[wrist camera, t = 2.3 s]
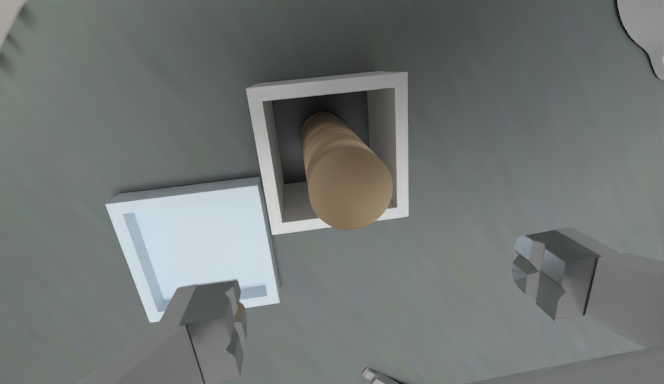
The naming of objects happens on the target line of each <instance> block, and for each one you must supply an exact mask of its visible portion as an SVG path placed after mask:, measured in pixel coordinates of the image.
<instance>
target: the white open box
mask: <svg viewBox="0 0 664 384" xmlns="http://www.w3.org/2000/svg"><path fill="white" fill-rule="evenodd" d="M366 90H367V105H368V125H369V146H370V149H371V150H372V151H373V152H374V153H375V154H376V155H377V157H378V158H379V159H380V160H381V161H382V162H383V163H384V164H385V165H386V166H387V168H388V170H389V171H390V174H391V177H392V181H393V193H392V198H391V201H390V203H389V205H388V207H387V209H386V210H385V212H384V213H383V214H382V215H381V216H380V217H379V218H378V219H377V220H376V221H379V220H386V219H393V218H401V217H408V72H380V71H374V72H364V73H354V74H344V75H334V76H324V77H314V78H304V79H294V80H284V81H274V82H265V83H258V84H255V85H253V86H251V87H248V88H246V92H247V98H248V103H249V109H250V115H251V120H252V126H253V131H254V137H255V142H256V148H257V154H258V159H259V165H260V170H261V176H262V181H263V187H264V193H265V198H266V204H267V209H268V215H269V220H270V226H271V232H272V235H276V234H283V233H291V232H298V231H305V230H313V229H320V228H327V227H332V226H330V225H328V224H326V223H324V222H323V221H322V220H321V219H320V218H319V217H318V216H317V215H316V213H315V212H314V210H313V208H312V206H311V203H310V199H309V193H308V185H307V181H305V182H297V183H289V184H284V178H283V172H282V165H281V159H280V152H279V146H278V139H277V133H276V126H275V120H274V113H273V107H272V100H280V99H289V98H299V97H308V96H318V95H327V94H337V93H347V92H356V91H366Z"/></svg>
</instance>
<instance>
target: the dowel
mask: <svg viewBox="0 0 664 384" xmlns="http://www.w3.org/2000/svg"><path fill="white" fill-rule="evenodd" d="M301 143H302V150H303V157H304V164H305V171H306V178H307V185H308V193H309V199H310V203H311V206H312V208H313V210H314V212H315V213H316V215H317V216H318V217H319V218H320V219H321V220H322V221H323V222H324V223H326V224H328V225H330V226H332V227H334V228H338V229H343V230H353V229H359V228H362V227H365V226H367V225H370V224H371V223H373V222H374V221H376V220H377V219H378V218H379V217H380V216H381V215H382V214H383V213H384V212H385V210H386V209H387V207H388V205H389V203H390V201H391V198H392V193H393V181H392V177H391V174H390V171H389V170H388V168H387V166H386V165H385V164H384V163H383V162H382V161H381V160H380V159H379V158H378V157H377V155H376V154H375V153H374V152H373V151H372V150H371V149H370V148H369V147H368V146H367V145H366V144H365V143H364V142H363V141H362V140H361V139H360V138H359V137H358V136H357V135H356V134H355V133H354V132H353V131H352V130H351V129H350V128H349V127H348V126H347V125H346V124H345V123H344V122H343V121H342V120H341V119H340V118H339V117H337V116H336V115H334V114H332V113H329V112H318V113H315V114H313V115H311V116H310V117H309V118H308V119H307V120H306V121H305V122H304V124H303V126H302V129H301Z"/></svg>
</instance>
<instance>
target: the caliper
mask: <svg viewBox="0 0 664 384" xmlns="http://www.w3.org/2000/svg"><path fill="white" fill-rule="evenodd" d="M362 375H363V376H364V377H365V378H367V379H369V380H371V384H400V383H398V382H396V381H394V380H393V379H391V378H389V377H388V376H386V375H384V374H381V373H379V372H376V371H375V372H374V371H372V370H370V369H369V368H366V369H365V370H364V371H363V373H362Z"/></svg>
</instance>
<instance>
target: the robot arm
mask: <svg viewBox="0 0 664 384" xmlns="http://www.w3.org/2000/svg"><path fill="white" fill-rule="evenodd" d="M617 4H618V10H619V14H620V17H621V20H622V23H623V25H624V27H625V29H626V31H627V32H628V34H629V35H630V37H631V38H632V39H633V40H634V41H635V42H636V43H637V44H638V45H639V46H641V47H642V48H643V49H644V50H645V51H646V52H647V53H648V55H649V56H650V59H651V63H652V66H653V69H654V71H655V74H656V75H657V77H658V78H659V79H661V80H664V0H617ZM515 251H516V252H517V254H518V256H517V258H516V259H515V260H514V262H513V267H512V274H513V277H514V280H515V283H516V284H517V286H518V287H519V288H520V289H521V290H522V291H523V292H524V293H525V294H527V295H529V296H532V297H534V298H536V304H537V305H538V306H539V307H540V308H541V309H542V310H543V311H544V312H546V313H547V314H548V315H549V316H550V317H551V318H552V319H553V320H554V321H556V320H563V319H570V318H576V317H583V316H585V318H586V319H588V320H590V321H592V322H594V323H596V324H598V325H601V326H603V327H605V328H607V329H609V330H611V331H613V332H615V333H617V334H619V335H621V336H623V337H625V338H627V339H629V340H631V341H633V342H635V343H637V344H639V345H641V346H644V347H646V348H648V349H643V350H637V351H632V352H627V353H622V354H616V355H611V356H606V357H601V358H595V359H590V360H585V361H580V362H574V363H569V364H564V365H559V366H553V367H548V368H543V369H538V370H532V371H527V372H522V373H517V374H512V375H507V376H502V377H496V378H491V379H486V380H481V381H476V382H471V383H466V384H664V262H663V261H658V260H654V259H650V258H646V257H641V256H637V255H633V254H628V253H624V254H621V253H619V252H617V251H615V250H613V249H611V248H609V247H608V246H606V245H604V244H602V243H600V242H598V241H596V240H594V239H592V238H591V237H589V236H587V235H585V234H583V233H581V232H579V231H577V230H575V229H573V228H562V229H557V230H552V231H547V232H542V233H536V234H530V235H525V236H519V237H518V238H517V240H516V242H515ZM240 295H241V290H240V286H239V282H238V281H237V279H232V280H224V281H216V282H209V283H201V284H193V285H187V286H181V287H179V288H177V289H176V291H175V293H174V295H173V297H172V298H171V300H170V302H169V304H168V306H167V308H166V310H165V312H164V314H163V316H162V318H161V320H160V321H159V323H158V325H157V327H156V329H155V330H150V331H148V332H146V333H145V334H144V335H142V336H141V337H140V338H138V339H137V340H136V341H134V342H133V343H132V344H130V345H129V346H128V347H126V348H125V349H124V350H122V351H121V352H120V353H118V354H117V355H116V356H114V357H113V358H112V359H110V360H109V361H108V362H106V363H105V364H104V365H102V366H101V367H100V368H98V369H97V370H96V371H94V372H93V373H92V374H90V375H89V376H88V377H86V378H85V379H84V380H82V381H81V382H80V383H78V384H210V383H214V382H219V381H224V380H229V379H233V378H238V377H240V374H241V367H242V361H243V351H242V345H243V344H244V342H245V341H246V335H247V319H246V312H245V307H244V305H243V304H242V303H241V302H239V300H240Z"/></svg>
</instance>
